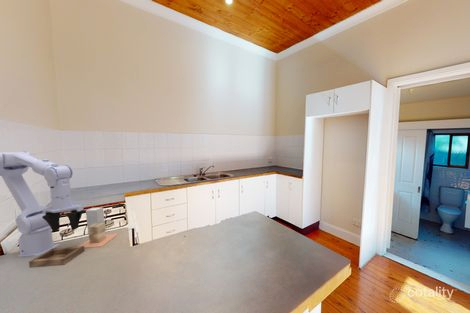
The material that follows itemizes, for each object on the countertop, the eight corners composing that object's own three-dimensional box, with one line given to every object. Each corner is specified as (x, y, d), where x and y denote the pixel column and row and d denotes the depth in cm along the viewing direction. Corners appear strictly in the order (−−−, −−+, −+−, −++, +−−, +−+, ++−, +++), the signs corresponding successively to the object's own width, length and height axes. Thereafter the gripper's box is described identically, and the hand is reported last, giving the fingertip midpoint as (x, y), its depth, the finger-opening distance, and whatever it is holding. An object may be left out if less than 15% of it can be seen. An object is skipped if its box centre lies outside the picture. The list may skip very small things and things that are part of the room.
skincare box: (106, 230, 93) (103, 207, 92) (99, 234, 89) (96, 210, 88) (95, 230, 93) (92, 207, 93) (87, 234, 89) (85, 210, 89)
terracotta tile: (75, 250, 74) (75, 248, 74) (95, 236, 85) (95, 235, 85) (102, 248, 75) (101, 246, 74) (119, 235, 86) (118, 233, 85)
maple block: (89, 243, 78) (88, 227, 77) (96, 238, 82) (95, 223, 81) (99, 242, 78) (97, 226, 77) (105, 238, 82) (104, 222, 81)
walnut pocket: (29, 268, 64) (28, 261, 64) (53, 254, 72) (52, 248, 72) (65, 265, 64) (64, 259, 64) (84, 252, 72) (83, 246, 72)
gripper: (32, 200, 68) (36, 235, 69) (70, 197, 68) (74, 232, 69) (51, 195, 75) (55, 227, 76) (86, 192, 75) (89, 225, 76)
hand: (65, 229), depth 73 cm, fingers open, 7 cm apart
